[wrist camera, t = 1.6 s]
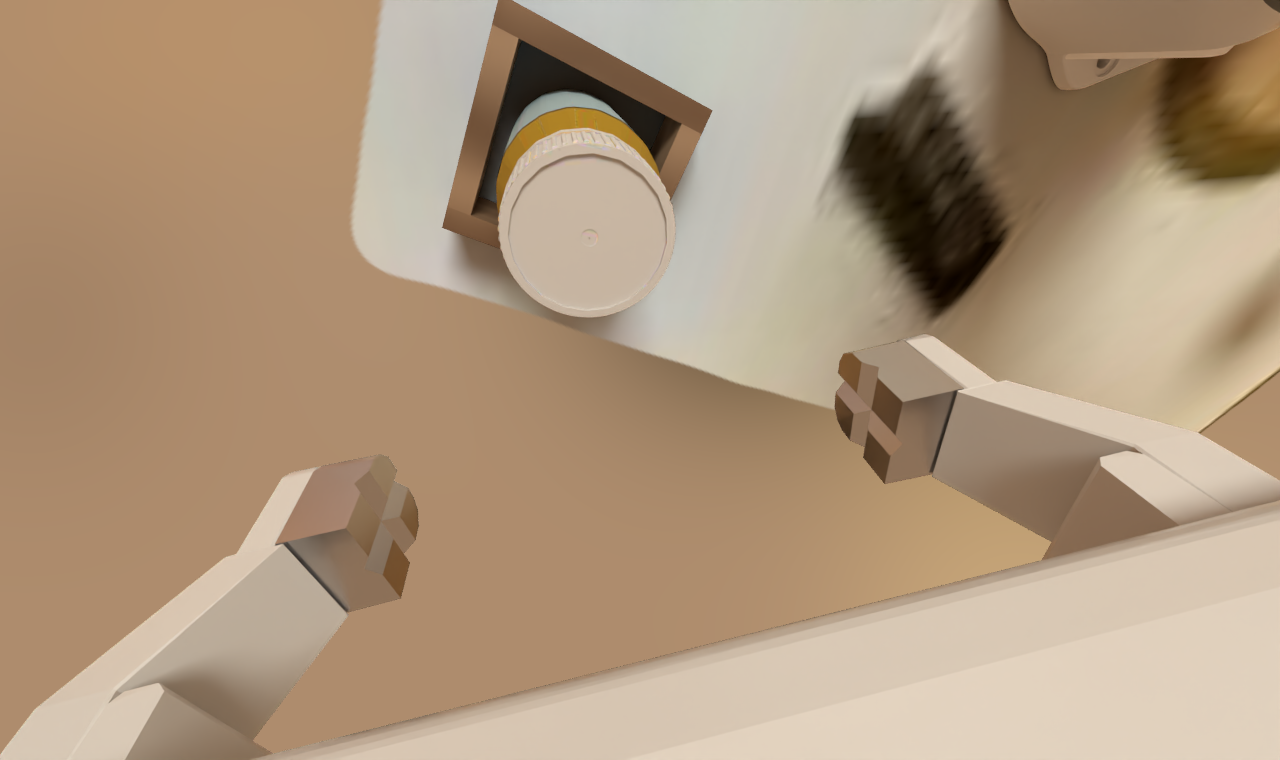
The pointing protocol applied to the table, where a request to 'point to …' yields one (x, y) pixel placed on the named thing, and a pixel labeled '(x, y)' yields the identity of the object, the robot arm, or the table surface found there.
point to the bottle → (582, 207)
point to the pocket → (522, 24)
